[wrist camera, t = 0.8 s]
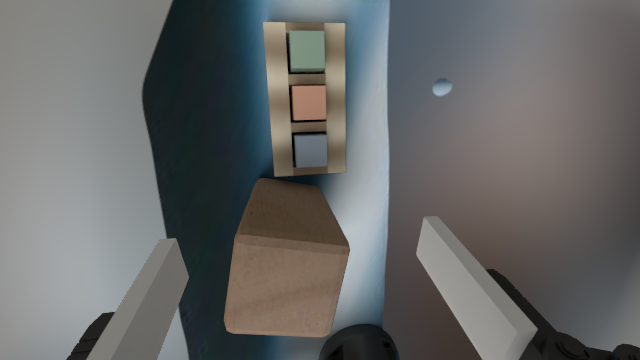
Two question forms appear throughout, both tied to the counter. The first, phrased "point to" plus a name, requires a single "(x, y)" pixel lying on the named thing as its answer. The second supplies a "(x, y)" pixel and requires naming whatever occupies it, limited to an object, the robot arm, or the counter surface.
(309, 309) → the block
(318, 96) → the terracotta button
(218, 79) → the counter surface
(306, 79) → the wooden slotted tray
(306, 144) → the grey small cube
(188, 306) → the counter surface
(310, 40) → the green button
